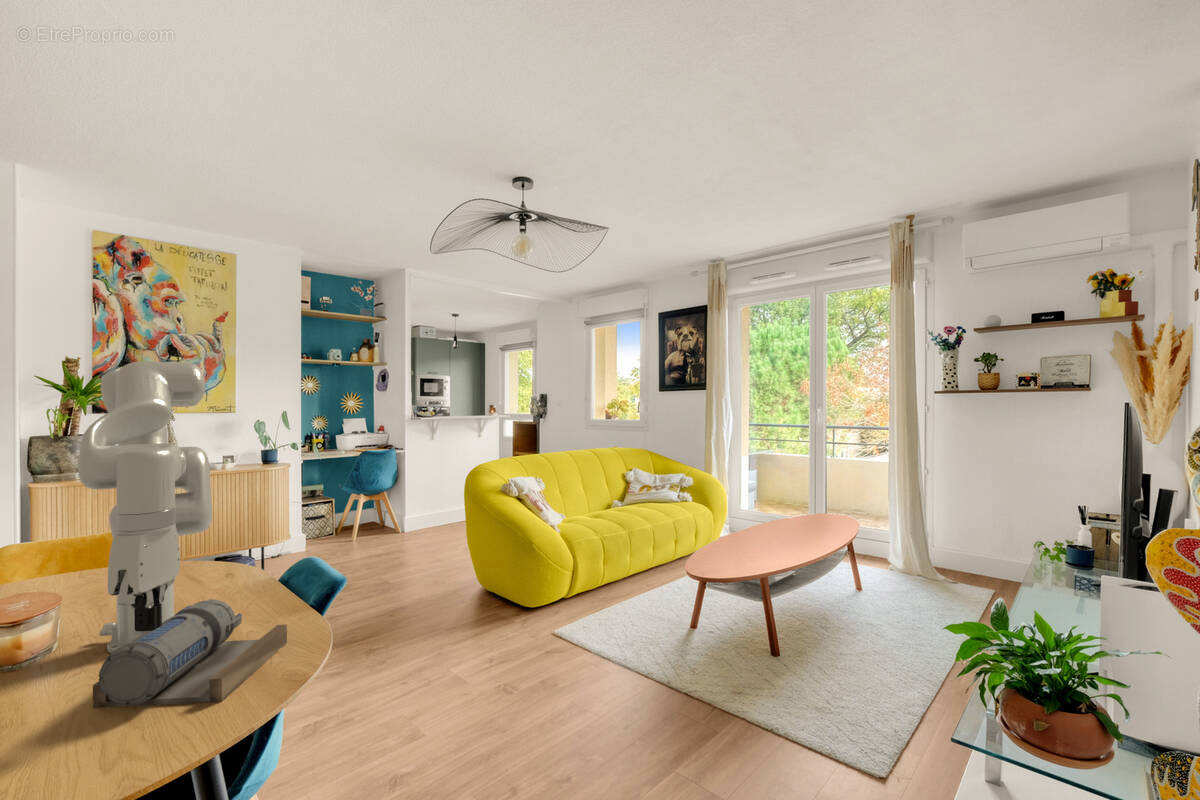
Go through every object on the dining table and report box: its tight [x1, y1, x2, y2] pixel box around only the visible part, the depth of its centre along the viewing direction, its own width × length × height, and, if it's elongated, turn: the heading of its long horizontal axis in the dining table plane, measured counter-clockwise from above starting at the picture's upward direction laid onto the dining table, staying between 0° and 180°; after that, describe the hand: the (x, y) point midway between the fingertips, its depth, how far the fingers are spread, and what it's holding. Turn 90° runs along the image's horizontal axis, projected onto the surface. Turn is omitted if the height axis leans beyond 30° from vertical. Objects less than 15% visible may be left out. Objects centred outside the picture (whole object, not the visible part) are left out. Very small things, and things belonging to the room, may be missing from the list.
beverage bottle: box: [98, 599, 243, 705], centre depth 100 cm, size 10×13×25 cm
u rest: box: [92, 624, 288, 709], centre depth 102 cm, size 21×22×4 cm
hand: (148, 628), depth 89 cm, fingers closed
